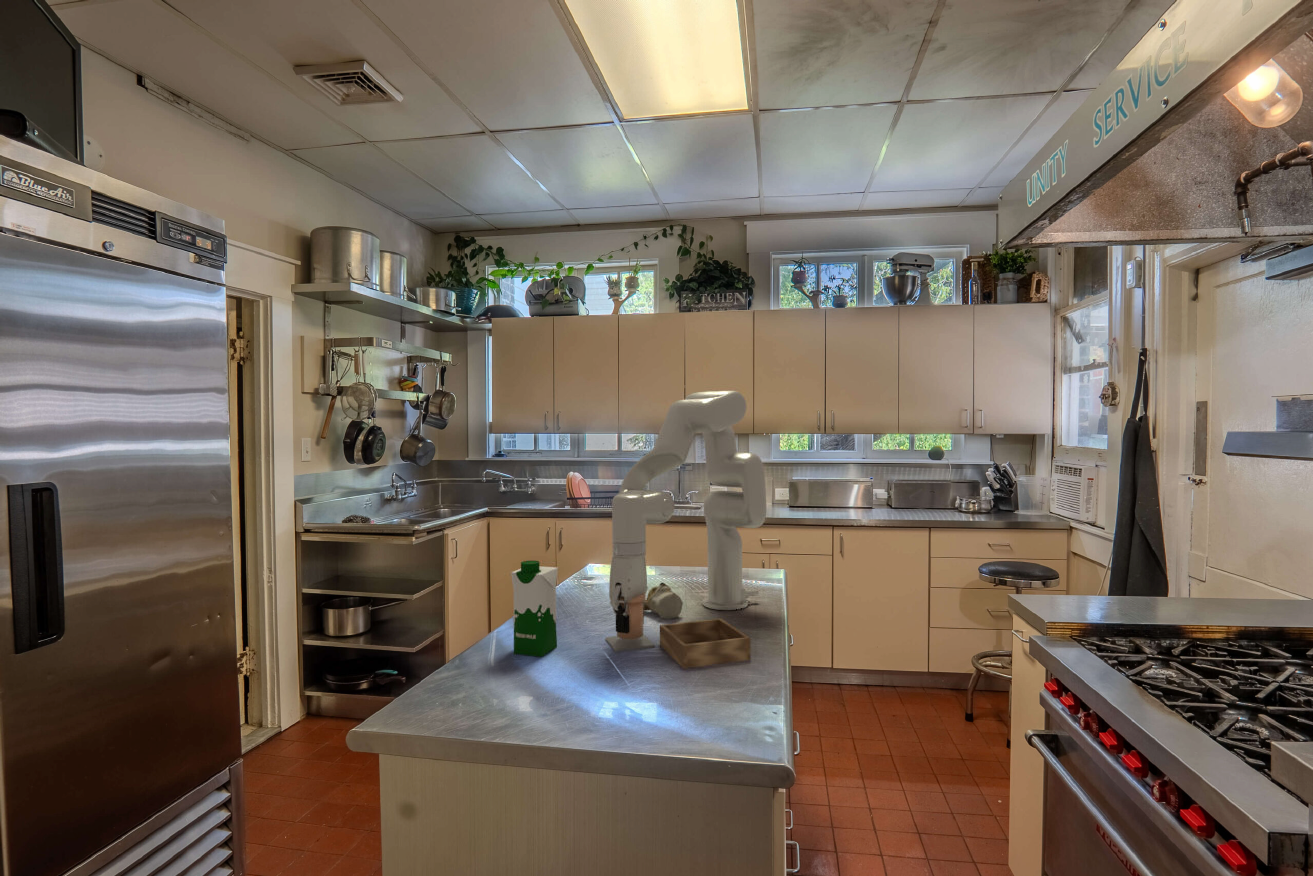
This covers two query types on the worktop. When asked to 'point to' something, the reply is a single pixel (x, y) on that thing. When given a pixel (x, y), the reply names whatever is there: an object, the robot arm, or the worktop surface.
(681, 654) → the open wooden box
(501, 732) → the worktop surface
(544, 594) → the milk carton
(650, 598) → the ceramic sculpture
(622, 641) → the slate tile
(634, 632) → the terracotta pot
